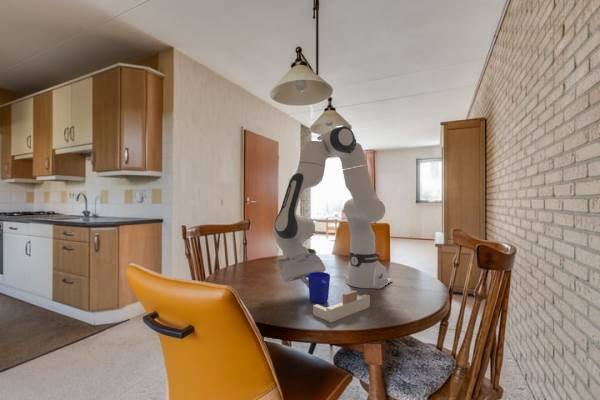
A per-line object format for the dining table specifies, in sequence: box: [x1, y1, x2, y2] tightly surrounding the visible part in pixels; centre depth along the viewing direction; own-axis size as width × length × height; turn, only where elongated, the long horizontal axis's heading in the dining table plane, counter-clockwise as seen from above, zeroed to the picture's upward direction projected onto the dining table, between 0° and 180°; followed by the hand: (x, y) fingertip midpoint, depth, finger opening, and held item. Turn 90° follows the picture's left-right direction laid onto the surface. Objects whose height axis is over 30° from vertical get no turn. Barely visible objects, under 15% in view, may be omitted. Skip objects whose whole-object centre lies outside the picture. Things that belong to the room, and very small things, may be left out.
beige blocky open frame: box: [312, 290, 371, 323], centre depth 100 cm, size 20×8×7 cm, turn 131°
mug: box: [307, 271, 331, 305], centre depth 107 cm, size 8×12×10 cm
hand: (312, 286), depth 111 cm, fingers closed
